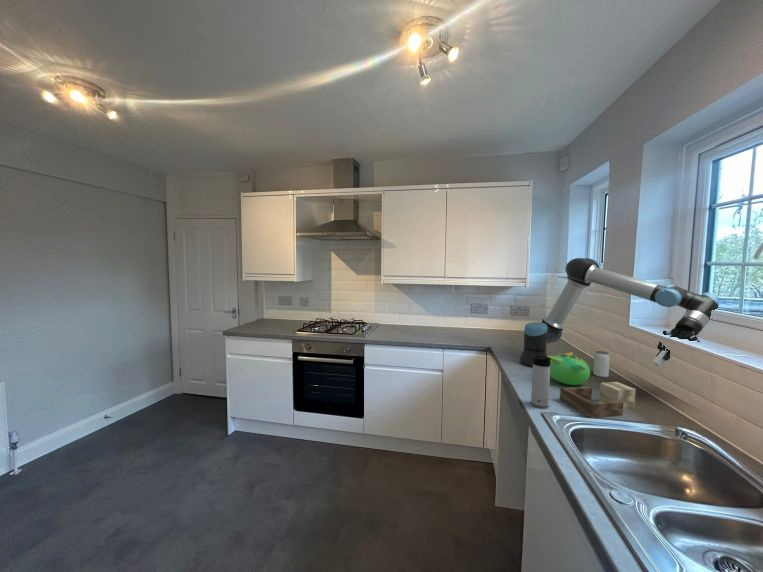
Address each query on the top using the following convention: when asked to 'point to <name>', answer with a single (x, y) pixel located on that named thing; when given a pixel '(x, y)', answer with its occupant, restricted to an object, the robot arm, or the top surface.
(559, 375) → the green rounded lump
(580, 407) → the wooden tray
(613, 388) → the block
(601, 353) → the can
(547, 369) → the travel mug
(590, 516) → the top surface
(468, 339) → the top surface
